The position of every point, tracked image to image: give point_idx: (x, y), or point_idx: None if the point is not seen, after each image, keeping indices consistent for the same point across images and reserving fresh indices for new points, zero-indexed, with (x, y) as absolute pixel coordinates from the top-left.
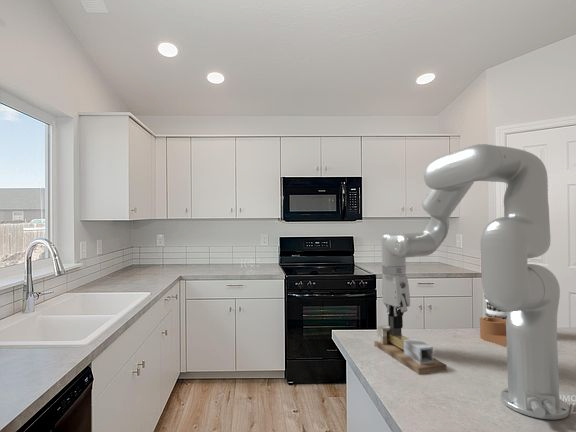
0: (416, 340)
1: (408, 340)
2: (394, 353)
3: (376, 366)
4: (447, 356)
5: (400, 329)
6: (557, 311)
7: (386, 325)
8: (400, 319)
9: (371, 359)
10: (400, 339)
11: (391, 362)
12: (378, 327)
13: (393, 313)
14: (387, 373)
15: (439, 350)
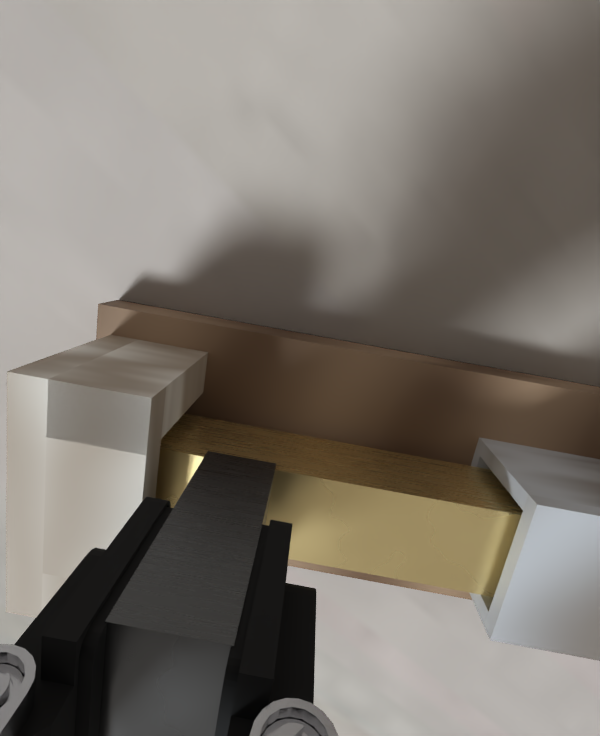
0: (584, 547)
1: (532, 613)
2: (392, 584)
3: (425, 719)
4: (596, 165)
5: (265, 510)
6: None
7: (31, 520)
8: (308, 684)
9: (321, 678)
10: (388, 576)
11: (427, 616)
12: (38, 605)
13: (67, 732)
14: (537, 732)
15: (454, 101)
